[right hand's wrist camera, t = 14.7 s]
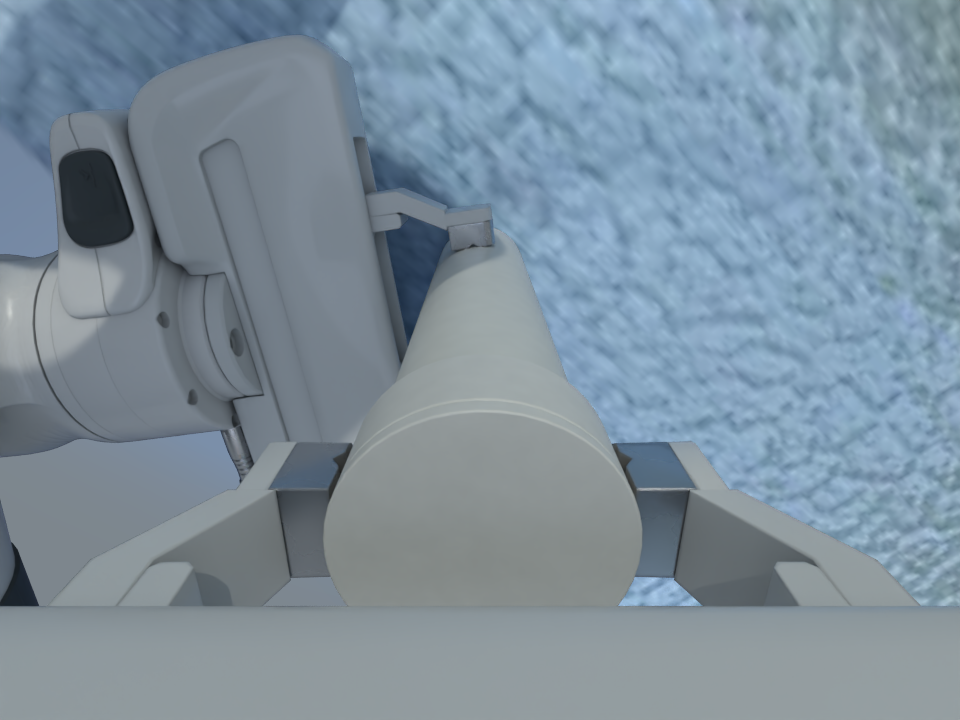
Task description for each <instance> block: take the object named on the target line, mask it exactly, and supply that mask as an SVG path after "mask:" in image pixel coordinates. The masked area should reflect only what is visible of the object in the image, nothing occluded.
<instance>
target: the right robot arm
mask: <svg viewBox="0 0 960 720" xmlns="http://www.w3.org/2000/svg"><path fill="white" fill-rule="evenodd" d="M612 446H613V449H614V451H615V453H616V455H617V458H618V460H619V462H620V464H621V467H622V469H623V471H624V474H625V476H626V478H627V480H628V483H629V485H630V487H631V489H632V492H633V494H634V496H635V499H636V502H637V505H638V508H639V512H640V517H641V524H642V550H641V556H640V561H639V565H638V568H637V571H636V574H635V577H666V578H674V580H675V581H676V582H677V583H678V584H679V585H680V586H682V587H683V588H684V589H685V590H686V591H687V592H688V593H689V594H690V595H691V596H693V597H694V598H695V599H696V600H697V601H698V602H699V603H700V604H701V605H703V606H263V605H264V604H265V603H266V602H267V601H268V600H269V599H271V598H272V597H273V596H274V595H275V594H276V593H277V592H278V591H279V590H281V589H282V588H283V587H284V586H285V585H286V584H287V583H288V582H289V581H290V580H291V579H290V578H298V577H331V576H330V574H329V571H328V567H327V563H326V560H325V555H324V545H323V530H324V520H325V516H326V511H327V507H328V504H329V501H330V499H331V497H332V494H333V492H334V489H335V487H336V485H337V482H338V480H339V478H340V475H341V473H342V470H343V468H344V466H345V463H346V461H347V458H348V456H349V454H350V451H351V449H352V447H353V445H352V443H334V442H298V441H292V442H272V443H269V444H268V446H267V447H266V448H265V450H264V451H263V453H262V454H261V455H260V457H259V458H258V460H257V461H256V462H255V464H254V465H253V467H252V468H251V469H250V471H249V472H248V474H247V475H246V476H245V478H244V479H243V481H242V482H241V483H240V485H239V486H238V488H237V489H236V490H226V491H224V492H222V493H220V494H218V495H216V496H214V497H212V498H210V499H208V500H206V501H205V502H203V503H201V504H199V505H197V506H195V507H193V508H191V509H189V510H187V511H185V512H183V513H181V514H179V515H177V516H175V517H173V518H171V519H169V520H167V521H165V522H163V523H161V524H159V525H157V526H155V527H153V528H151V529H149V530H147V531H145V532H143V533H142V534H140V535H138V536H136V537H134V538H132V539H130V540H128V541H126V542H124V543H122V544H120V545H118V546H116V547H114V548H112V549H110V550H108V551H106V552H104V553H102V554H100V555H98V556H96V557H94V558H92V559H91V560H90V561H89V562H88V563H87V564H86V565H85V566H84V567H83V568H82V569H81V570H80V571H79V572H78V573H77V574H76V575H75V576H74V577H73V579H72V580H71V581H70V582H69V583H68V584H67V585H66V586H65V587H64V588H63V589H62V590H61V591H60V592H59V593H58V594H57V595H56V597H55V598H54V599H53V600H52V601H51V602H50V603H49V604H48V605H47V606H0V720H960V606H921V605H920V604H919V603H918V602H917V601H916V600H915V599H914V598H913V597H912V596H911V595H910V594H909V593H908V592H907V591H906V590H905V589H904V588H903V587H902V586H901V585H900V584H899V582H898V581H897V580H896V579H895V578H894V577H893V576H892V575H891V574H890V573H889V572H888V571H887V570H886V569H885V568H884V567H883V566H882V565H881V564H880V563H879V562H878V560H876V559H874V558H872V557H870V556H868V555H866V554H864V553H862V552H860V551H858V550H856V549H854V548H852V547H850V546H848V545H846V544H844V543H842V542H840V541H838V540H836V539H834V538H832V537H830V536H828V535H826V534H824V533H822V532H821V531H819V530H817V529H815V528H813V527H811V526H809V525H807V524H805V523H803V522H801V521H799V520H797V519H795V518H793V517H791V516H789V515H787V514H785V513H783V512H781V511H779V510H777V509H775V508H773V507H771V506H769V505H767V504H765V503H763V502H761V501H759V500H757V499H755V498H753V497H751V496H749V495H747V494H745V493H743V492H741V491H739V490H729V488H728V487H727V486H726V484H725V483H724V482H723V480H722V479H721V478H720V476H719V475H718V474H717V472H716V471H715V469H714V468H713V467H712V465H711V464H710V463H709V461H708V460H707V459H706V457H705V456H704V455H703V453H702V452H701V451H700V449H699V448H698V446H697V445H696V444H695V443H693V442H691V441H684V442H647V443H614V444H612Z"/></svg>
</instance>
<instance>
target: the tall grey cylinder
mask: <svg viewBox="0 0 960 720" xmlns="http://www.w3.org/2000/svg"><path fill="white" fill-rule="evenodd" d="M494 236H495V244H493V245H489V246H484V247H478V246H476V245H474V244H472V245H471V246H470V247H469V248H468V249H462V250H455V251H452V250H451V244H450V240H449V241H448V242H447V243H446V245H445V247H444V248H443V250H442V253H441V255H440V258H439V261H438V264H437V267H436V269H435V272H434V275H433V278H432V281H431V283H430V286H429V289H428V292H427V295H426V298H425V300H424V303H423V306H422V309H421V312H420V314H419V317H418V320H417V323H416V326H415V328H414V331H413V334H412V337H411V340H410V343H409V345H408V348H407V351H406V354H405V357H404V359H403V362H402V365H401V368H400V371H399V373H398V376H397V379H396V382H398V381H399V380H400V379H402V378H403V377H405V376H406V375H408V374H409V373H411V372H413V371H415V370H417V369H419V368H421V367H423V366H426V365H429V364H431V363H434V362H437V361H440V360H444V359H448V358H453V357H457V356H465V355H476V354H483V355H500V356H507V357H513V358H517V359H521V360H524V361H528V362H531V363H534V364H536V365H539V366H541V367H543V368H546V369H548V370H550V371H551V372H553V373H555V374H557V375H558V376H560V377H562V378H563V379H565V380H566V381H567V382H568V380H567V378H566V375H565V372H564V370H563V367H562V364H561V361H560V359H559V356H558V353H557V351H556V348H555V345H554V343H553V340H552V337H551V334H550V332H549V329H548V326H547V324H546V321H545V318H544V316H543V313H542V310H541V307H540V305H539V302H538V299H537V297H536V294H535V291H534V289H533V286H532V283H531V280H530V278H529V275H528V272H527V270H526V267H525V264H524V262H523V259H522V256H521V253H520V251H519V249H518V247H517V246H516V244H515V243H514V241H513V240H512V239H511V238H510V237H509V236H508V235H506V234H505V233H503V232H502V231H500V230H498V229H495V228H494ZM396 382H395V383H396Z"/></svg>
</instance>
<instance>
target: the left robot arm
mask: <svg viewBox="0 0 960 720" xmlns="http://www.w3.org/2000/svg"><path fill="white" fill-rule="evenodd" d="M50 154H51V163H52V171H53V180H54V189H55V199H56V211H57V226H58V250H57V251H55V252H53V253H50V254H48V255H45V256H42V257H36V258H31V257H25V256H19V255H9V254H1V255H0V457H9V456H19V455H28V454H34V453H39V452H44V451H48V450H52V449H55V448H58V447H60V446H63V445H65V444H67V443H69V442H71V441H74V440H76V439H90V440H94V441H100V442H111V443H120V442H130V441H140V440H147V439H155V438H163V437H171V436H179V435H187V434H194V433H203V432H211V431H219V430H220V431H221V434H222V437H223V439H224V442H225V445H226V447H227V450H228V453H229V455H230V457H231V459H232V461H233V463H234V464H235V466H236V468H237V471H238V473H239V477H240V483H241V482H242V481H243V479H244V478H245V476H246V475H247V474H248V472H249V471H250V469H251V468H252V467H253V465H254V464H255V462H256V461H257V460H258V458H259V457H260V455H261V454H262V453H263V451H264V450H265V448H266V447H267V446H268V444H269V443H272V442H292V441H298V442H334V443H352V445H353V444H354V442H355V439H356V437H357V435H358V432H359V430H360V428H361V425H362V423H363V421H364V419H365V417H366V416H367V414H368V412H369V411H370V409H371V407H372V406H373V405H374V404H375V403H376V401H377V400H378V399H379V398H380V397H381V395H382V394H384V393H385V392H386V391H387V390H388V389H389V388H390V387H391V386H392V385H393V384H395V382H396V379H397V376H398V373H399V371H400V368H401V365H402V362H403V359H404V357H405V354H406V351H407V348H408V342H407V337H406V333H405V328H404V323H403V318H402V313H401V308H400V303H399V298H398V293H397V288H396V283H395V278H394V273H393V268H392V263H391V258H390V253H389V248H388V243H387V238H386V233H385V231H387V230H393V229H400V227H401V226H402V225H403V224H404V223H405V222H406V221H407V220H408V216H411V217H413V218H416V219H418V220H421V221H423V222H426V223H428V224H431V225H434V226H436V227H439V228H441V229H444V230H446V231H447V230H448V233H449V239H450V244H451V250H452V251H455V250H462V249H468V248H469V247H470V246H471V245H472V244H474V245H476V246H478V247H484V246H489V245H493V244H495V236H494V228H493V219H492V212H491V205H490V204H479V205H472V206H465V207H458V208H451V209H448V208H447V206H446V205H444V204H441V203H439V202H437V201H434V200H432V199H430V198H427V197H425V196H422V195H420V194H418V193H415V192H413V191H410V190H408V189H406V188H396V189H389V190H382V191H377V188H376V183H375V178H374V173H373V168H372V163H371V158H370V153H369V148H368V143H367V138H366V134H365V129H364V124H363V119H362V114H361V109H360V104H359V99H358V94H357V89H356V84H355V79H354V74H353V70H352V68H351V66H350V65H349V63H348V62H347V61H346V60H345V59H344V58H342V57H341V56H340V55H339V54H338V53H337V52H335V51H334V50H333V49H332V48H330V47H329V46H327V45H326V44H324V43H322V42H321V41H319V40H317V39H315V38H312V37H309V36H306V35H287V36H280V37H274V38H269V39H265V40H260V41H256V42H251V43H247V44H243V45H240V46H236V47H232V48H228V49H225V50H222V51H218V52H215V53H212V54H208V55H205V56H202V57H200V58H197V59H194V60H191V61H188V62H185V63H183V64H180V65H177V66H175V67H172V68H170V69H168V70H166V71H163V72H161V73H160V74H158V75H156V76H155V77H153V78H152V79H151V80H149V81H148V82H147V83H146V84H145V85H144V86H142V88H141V89H140V90H139V91H138V93H137V94H136V95H135V97H134V99H133V101H132V103H131V106H130V109H103V110H92V111H83V112H77V113H71V114H67V115H64V116H61V117H59V118H57V119H56V120H55V121H54V122H53V124H52V126H51V130H50ZM0 606H39V604H38V602H37V599H36V597H35V594H34V591H33V589H32V586H31V584H30V581H29V578H28V576H27V573H26V571H25V568H24V565H23V563H22V560H21V557H20V555H19V552H18V550H17V548H16V547H15V546H14V544H13V543H12V542H11V540H10V536H9V532H8V529H7V525H6V521H5V517H4V513H3V509H2V505H1V501H0Z"/></svg>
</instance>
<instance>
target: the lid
mask: <svg viewBox="0 0 960 720" xmlns="http://www.w3.org/2000/svg"><path fill="white" fill-rule="evenodd" d="M323 545H324V555H325V560H326V563H327V567H328V571H329V574H330V576H331V579H332V581H333V583H334V585H335V588H336V589H337V591H338V593H339V594H340V596H341V597H342V599H343V601H344V602H345V604H346V605H347V606H618V605H619V603H620V602H621V601H622V599H623V598H624V596H625V595H626V593H627V591H628V589H629V587H630V586H631V584H632V582H633V580H634V577H635V574H636V571H637V568H638V565H639V561H640V556H641V550H642V524H641V517H640V512H639V508H638V505H637V502H636V499H635V496H634V494H633V492H632V489H631V487H630V485H629V483H628V480H627V478H626V476H625V474H624V471H623V469H622V467H621V464H620V462H619V460H618V458H617V455H616V453H615V451H614V449H613V446H612V444H611V442H610V440H609V437H608V435H607V433H606V431H605V428H604V426H603V424H602V422H601V420H600V418H599V416H598V415H597V413H596V411H595V410H594V409H593V407H592V406H591V404H590V403H589V402H588V400H587V399H586V398H585V397H584V396H583V395H582V394H581V393H580V392H579V391H578V390H577V389H576V388H575V387H573V386H572V385H571V384H570V383H568V382H567V381H566V380H565V379H563V378H562V377H560V376H558V375H557V374H555V373H553V372H551V371H550V370H548V369H546V368H543V367H541V366H539V365H536V364H534V363H531V362H528V361H524V360H521V359H517V358H513V357H507V356H500V355H483V354H476V355H465V356H457V357H453V358H448V359H444V360H440V361H437V362H434V363H431V364H429V365H426V366H423V367H421V368H419V369H417V370H415V371H413V372H411V373H409V374H408V375H406V376H405V377H403V378H402V379H400V380H399V381H398V382H396V383H395V384H393V385H392V386H391V387H390V388H389V389H388V390H387V391H386V392H385V393H384V394H382V395H381V397H380V398H379V399H378V400H377V401H376V403H375V404H374V405H373V406H372V407H371V409H370V411H369V412H368V414H367V416H366V417H365V419H364V421H363V423H362V425H361V428H360V430H359V432H358V435H357V437H356V439H355V442H354V444H353V447H352V449H351V451H350V454H349V456H348V458H347V461H346V463H345V466H344V468H343V470H342V473H341V475H340V478H339V480H338V482H337V485H336V487H335V489H334V492H333V494H332V497H331V499H330V501H329V504H328V507H327V511H326V516H325V520H324V530H323Z"/></svg>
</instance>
